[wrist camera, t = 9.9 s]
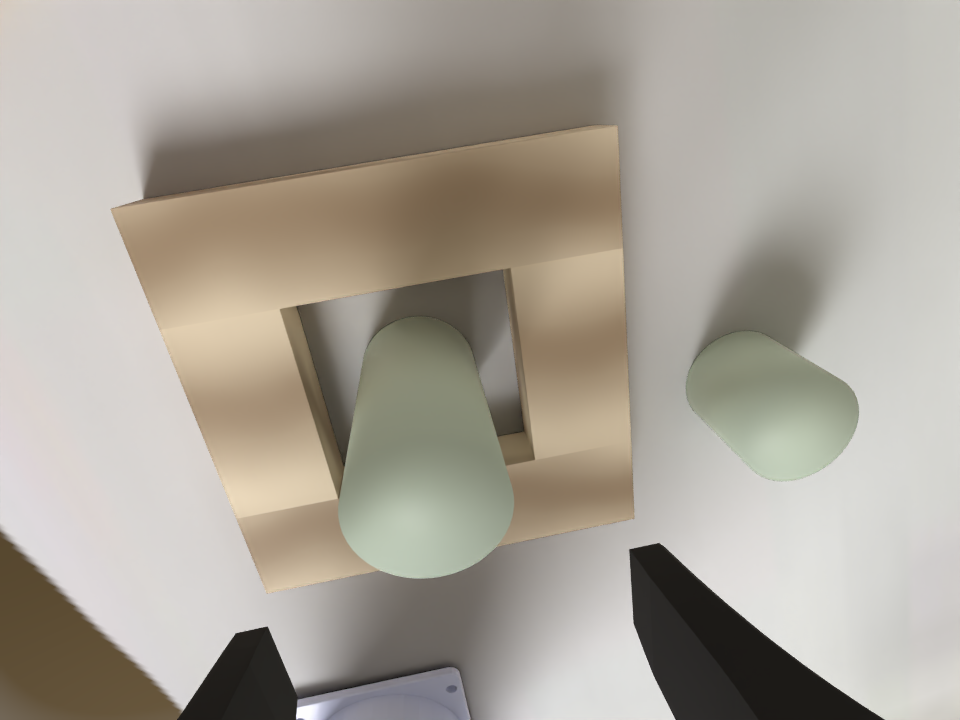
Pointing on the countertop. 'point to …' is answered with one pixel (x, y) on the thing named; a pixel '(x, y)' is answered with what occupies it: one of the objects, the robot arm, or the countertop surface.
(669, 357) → the countertop surface
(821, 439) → the short peg
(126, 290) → the countertop surface
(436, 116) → the countertop surface
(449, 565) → the tall peg
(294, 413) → the hole board
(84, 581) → the countertop surface
